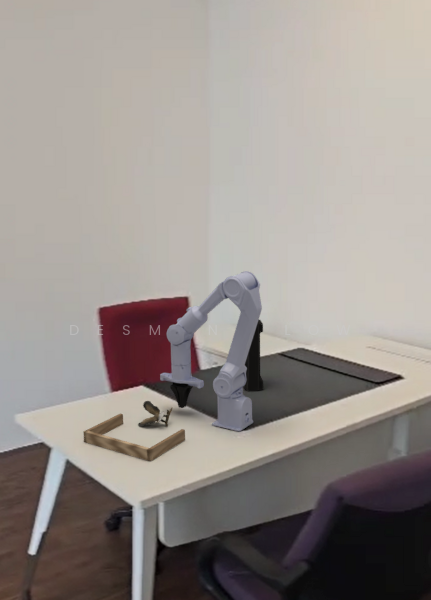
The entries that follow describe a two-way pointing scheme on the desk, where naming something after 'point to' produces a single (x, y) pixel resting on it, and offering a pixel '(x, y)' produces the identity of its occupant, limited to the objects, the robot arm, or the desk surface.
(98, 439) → the box
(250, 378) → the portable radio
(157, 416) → the eagle figurine
